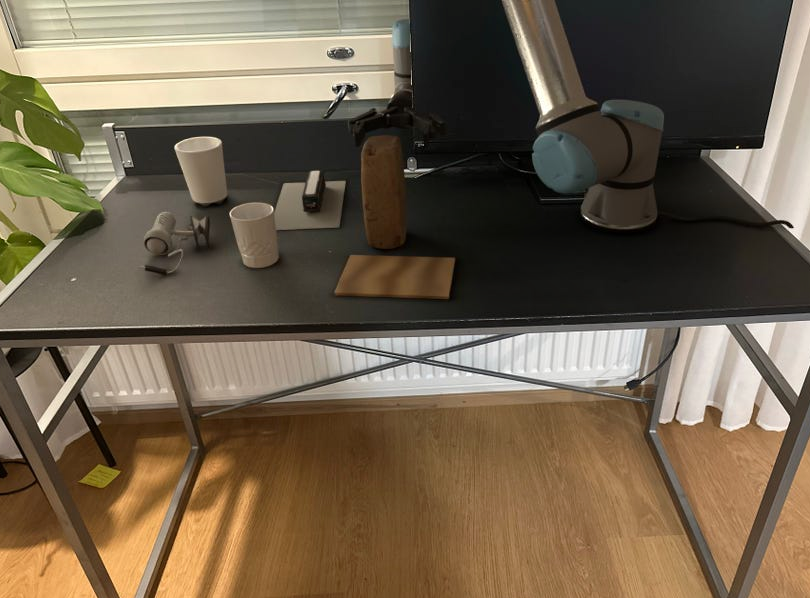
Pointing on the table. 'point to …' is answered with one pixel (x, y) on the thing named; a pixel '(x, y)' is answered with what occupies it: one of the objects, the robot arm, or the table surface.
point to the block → (384, 192)
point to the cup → (203, 169)
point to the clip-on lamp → (161, 235)
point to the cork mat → (397, 277)
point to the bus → (310, 203)
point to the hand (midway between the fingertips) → (391, 140)
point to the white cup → (255, 234)
